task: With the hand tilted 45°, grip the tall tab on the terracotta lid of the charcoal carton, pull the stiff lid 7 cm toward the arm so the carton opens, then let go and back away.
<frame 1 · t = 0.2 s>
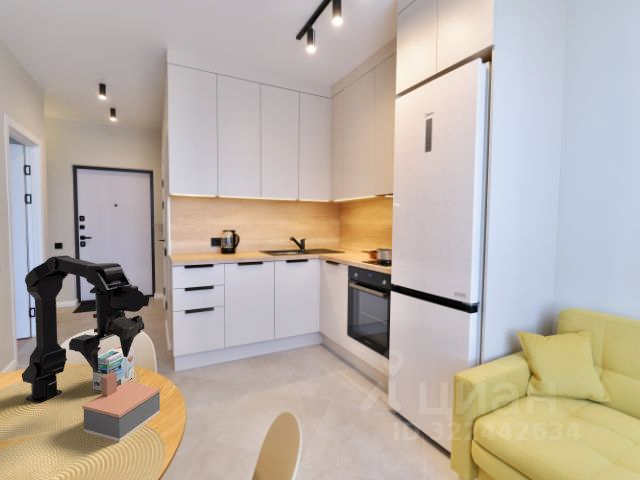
hand: (111, 363, 91), 15 cm above the table, tool pointing down, fingers open, 9 cm apart
lid: (123, 388, 88), point 9 cm above the table, slide at 0.0 cm
light bulb box: (114, 383, 109), on the table
carton: (123, 421, 89), on the table
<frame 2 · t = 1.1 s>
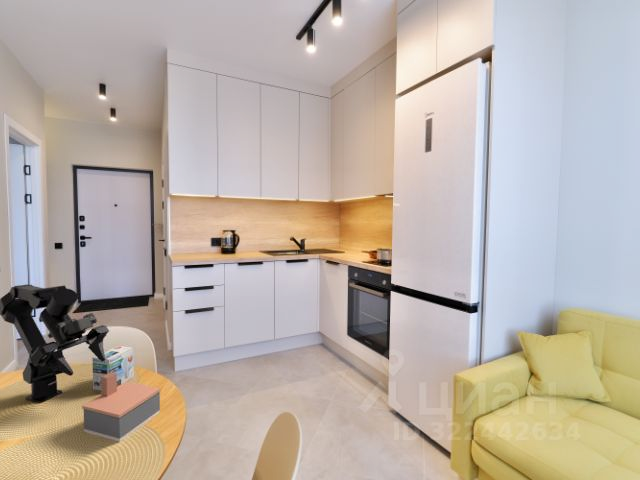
hand: (88, 367, 92), 13 cm above the table, tool tilted 45°, fingers open, 9 cm apart
nothing on the table moved.
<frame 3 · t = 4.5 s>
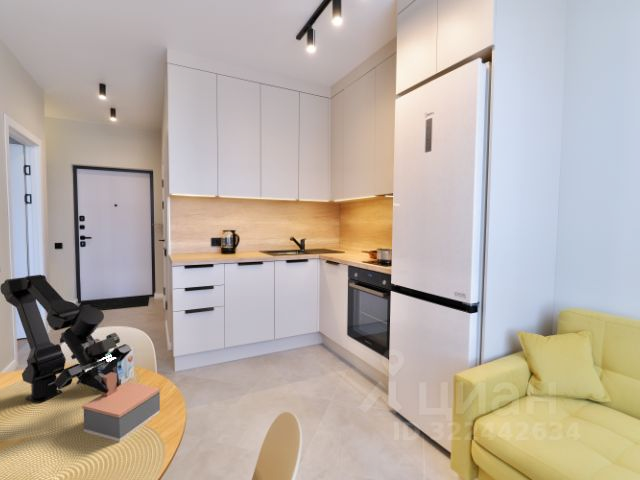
hand: (113, 389, 89), 9 cm above the table, tool tilted 45°, fingers closed on lid, 3 cm apart
lid: (123, 388, 88), point 9 cm above the table, slide at 0.0 cm, touching gripper
everything else where it was.
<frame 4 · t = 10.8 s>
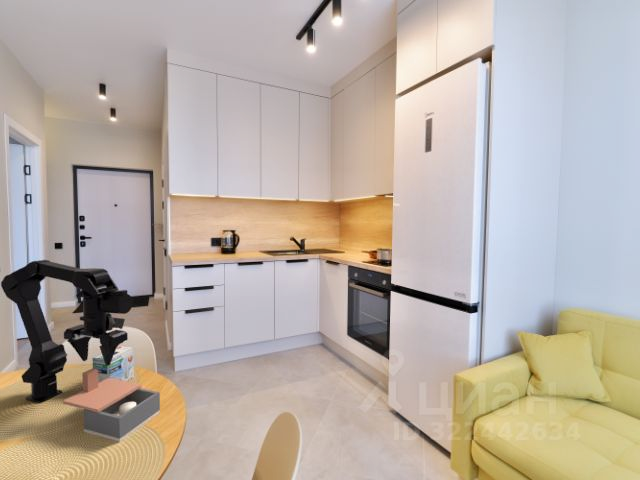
hand: (96, 362, 97), 12 cm above the table, tool pointing down, fingers open, 9 cm apart
lid: (103, 384, 90), point 9 cm above the table, slide at 7.0 cm
everything else where it was.
at the end: lid slide at 7.0 cm; the gripper is holding nothing; light bulb box moved 0.3 cm from its start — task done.
